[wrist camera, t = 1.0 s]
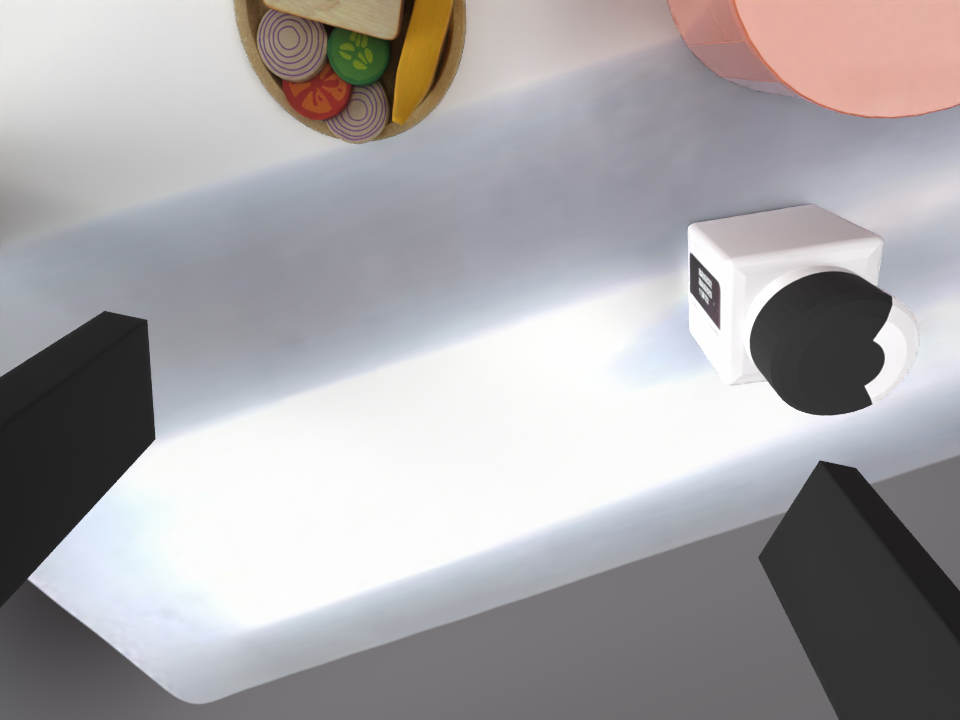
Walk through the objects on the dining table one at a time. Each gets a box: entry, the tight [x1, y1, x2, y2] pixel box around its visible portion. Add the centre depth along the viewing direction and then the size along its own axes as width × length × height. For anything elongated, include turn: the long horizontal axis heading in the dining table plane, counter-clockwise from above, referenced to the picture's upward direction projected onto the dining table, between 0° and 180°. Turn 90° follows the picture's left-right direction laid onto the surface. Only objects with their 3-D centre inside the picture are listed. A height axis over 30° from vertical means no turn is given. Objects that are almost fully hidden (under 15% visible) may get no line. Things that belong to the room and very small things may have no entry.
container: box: [688, 204, 920, 415], centre depth 32 cm, size 8×8×13 cm
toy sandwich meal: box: [234, 0, 466, 144], centre depth 29 cm, size 12×14×5 cm
